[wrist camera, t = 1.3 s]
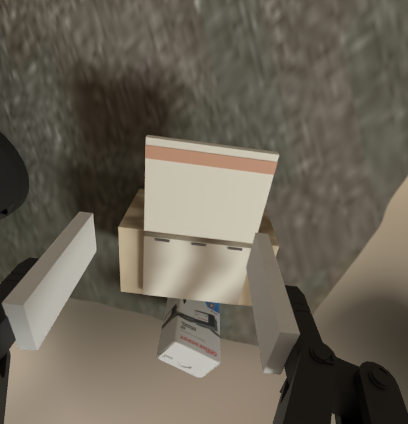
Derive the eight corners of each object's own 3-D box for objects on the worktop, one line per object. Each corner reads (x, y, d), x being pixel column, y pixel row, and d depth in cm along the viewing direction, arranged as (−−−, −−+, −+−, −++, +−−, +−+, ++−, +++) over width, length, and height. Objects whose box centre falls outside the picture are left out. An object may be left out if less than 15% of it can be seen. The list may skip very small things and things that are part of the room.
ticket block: (139, 244, 43) (118, 297, 34) (139, 188, 38) (115, 231, 29) (249, 257, 44) (259, 312, 34) (264, 203, 39) (280, 251, 29)
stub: (145, 226, 29) (143, 230, 29) (147, 134, 24) (145, 137, 24) (253, 239, 30) (254, 244, 29) (277, 152, 25) (279, 155, 24)
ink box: (220, 301, 49) (222, 365, 39) (204, 315, 51) (202, 380, 41) (181, 280, 47) (173, 342, 37) (166, 296, 49) (154, 359, 39)
